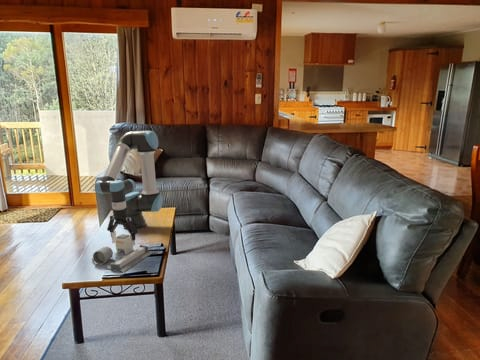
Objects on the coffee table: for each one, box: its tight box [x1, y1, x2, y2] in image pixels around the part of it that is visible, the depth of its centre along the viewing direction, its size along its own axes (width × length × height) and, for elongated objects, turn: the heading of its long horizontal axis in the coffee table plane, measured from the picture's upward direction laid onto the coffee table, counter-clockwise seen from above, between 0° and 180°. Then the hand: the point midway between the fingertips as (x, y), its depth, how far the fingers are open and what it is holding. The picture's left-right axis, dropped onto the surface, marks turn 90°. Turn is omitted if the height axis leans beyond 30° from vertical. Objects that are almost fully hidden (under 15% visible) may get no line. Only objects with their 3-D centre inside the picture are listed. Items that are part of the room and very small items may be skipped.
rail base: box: [105, 244, 154, 273], centre depth 188 cm, size 24×12×4 cm, turn 156°
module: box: [114, 233, 134, 255], centre depth 198 cm, size 6×7×10 cm
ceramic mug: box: [91, 246, 114, 266], centre depth 188 cm, size 11×8×8 cm
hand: (123, 244), depth 198 cm, fingers open, 13 cm apart
